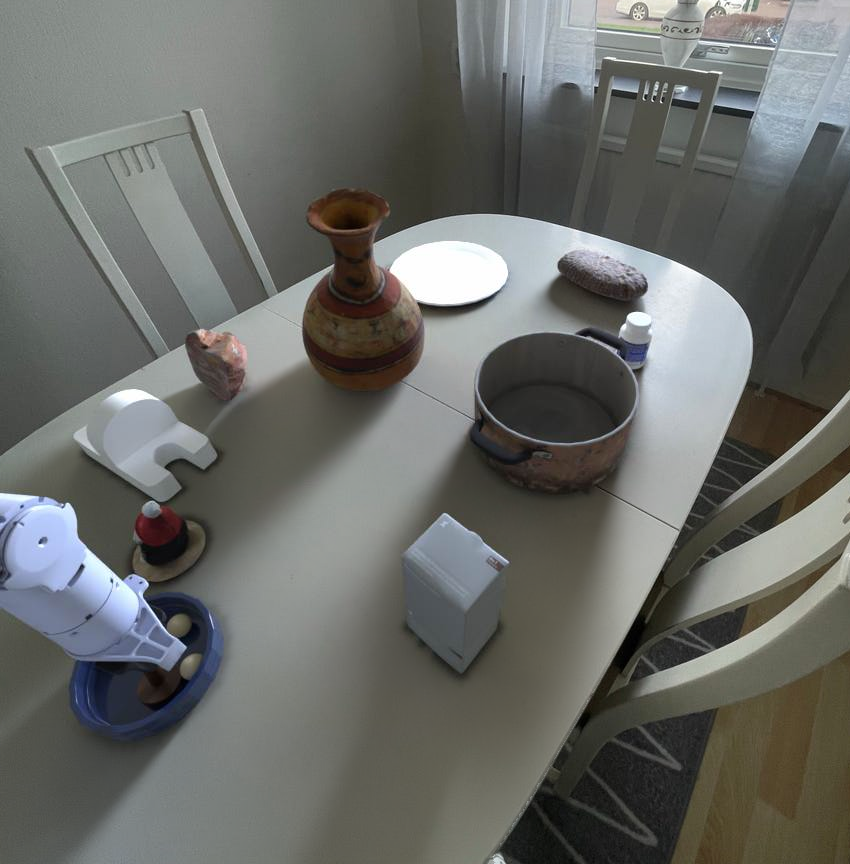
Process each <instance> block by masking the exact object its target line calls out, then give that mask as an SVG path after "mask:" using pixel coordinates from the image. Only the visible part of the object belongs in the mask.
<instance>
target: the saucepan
mask: <svg viewBox="0 0 850 864" xmlns="http://www.w3.org/2000/svg"><path fill="white" fill-rule="evenodd" d="M588 337H590V338H588ZM604 344H605V345H604ZM607 346H609V347H611V348H612V349H615V350H616V349H617V350H619V355H617V354H616V353H615V351H613V350H612V349H611V348H609V347H607ZM627 350H628V346H627V344H626V343H625V342H624V341H623V340H622V339H620V338H619V336H616V335H615V334H612V333H610V332H608V331H607V330H603V329H600V328H598V327H593V326H587V327H583V328H582V329H580V330H578V331H576V332H575V333H569V332H564V331H563V332H562V331H545V330H544V331H535V332H528V333H523V334H519V335H516V336H513V337H509V338H507V339H506V340H504V341H502V342H500V343H498V344H496V345H495V346H493V348H491V349H490V350H488V352H487V353H486V354H485V355H484V356H483V358H481V360H480V362H479V364H478V366H477V367H476V371H475V374H474V380H473V382H474V383H473V386H474V387H473V391H474V393H473V394H474V397H473V398H474V423H473V424H472V426H471V429H470V431H469V441H470V442H471V444H472V445H473V446H474V447H475V448H476V449H477V450H478V451H479V452H480V454H481V455H482V457H483V460H484V461H485V462H486V463H487V464H488V465H489V467H490V468H491V469H492V471H494V472H495V473H496V474H497V475H499V476H500V477H502V478H503V479H505V480H506V481H508V482H510V483H512V484H513V485H516V486H518V487H521V488H524V489H527V490H529V491H534V492H539V493H544V494H567V493H576V492H579V491H582V490H585V489H590V488H591V487H593V486H595V485H597V484H600V483H601V482H602V481H604V480H605V479H606V478H608V477H609V476H610V475H611V474H612V473H613V472H614V470H615V469H616V468H617V466H619V464H620V462H621V459H622V457H623V455H624V452H625V450H626V446H627V443H628V440H629V437H630V434H631V430H632V426H633V424H634V419H635V416H636V413H637V410H638V406H639V401H640V388H639V387H640V386H639V383H638V380H637V378H636V375H635V373H634V372H633V369H630V367H629V366H628V364H627V363H626V362H625V358H626V354H627Z"/></svg>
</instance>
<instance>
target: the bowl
mask: <svg viewBox="0 0 850 864" xmlns="http://www.w3.org/2000/svg"><path fill="white" fill-rule="evenodd" d="M143 598H144V600H145V601H146V603H147V604H148V605H149V604H150V605H152V606H155V607H157V608H159V609H161V610H162V611H163V612H164V613H165V615H166V617H167V619H166V621H165V624H164V628H165V630H166V631H167V624H168V622H169V620H170V619H171V618H172V617H173V616H175V615H177V614H186V615H188V616H189V617H190V618H191V620H192V627H191V629H190V631H189V632H188V633H187V634H186V635H185V636H183V637H180V638H177V639H178V640H179V641H180V642H181V643H182V644H184V645H185V646H186V649H185V651H184V652H183V653H182V655H181V657H180V658H179V659H178V661H177V662H176V663H175V664H177V665H178V666H179V667H180V666H181V663H182V662H183V660H184V659H185V658H186V657H187V656H189V655H191V654H201V655H203V658H202V660H201V663H200V665H199V668H198V670H197V671H196V672H195V674H194V675H193V677H192V678H191V680H187V679H184V682H183V685H182V688H181V690H180V691H179V693H178V694H177V695H176V696H175V697H174V698H173V699H172V700H171V701H170V702H168V703H166V704H165V705H162V706H160V707H154V708H150V707H146V706H144V705H143V704H142V703H141V701H140V700H139V698H138V696H137V686H138V683H139V681H140V679H141V678H142V676H143V675H144V673H143V672H141V671H136V670H131V671H128V672H126V673H124V674H122V675H113V674H109V673H107V672H105V671H104V670H102V669H100V668H98V667H96V666H94V664H95V663H96V662H97V661H81V660H77V659H76V661H75V663H74V664H73V668H72V672H71V676H70V680H69V683H68V694H69V707H70V710H71V711H72V712H73V714H74V716H75V717H76V720H77V721H78V722H79V724H81V725H82V726H85V727H86V728H88V729H90V730H91V731H93V732H96V733H97V734H99V735H102V736H104V737H106V738H108V739H110V740H114V741H129V742H132V741H133V742H135V741H137V740H141V739H144V738H147V737H151V736H155V735H158V734H159V733H161V732H163V731H164V730H166V729H167V728H169V727H171V726H173V725H174V724H175V723H177V722H179V721H181V719H183V718H184V717H185V716H186V715H187V714H188V713H189V712H190V711H191V710H192V709H193V708H194V707H195V706H196V705H197V704H198V703H200V701H201V700H202V698H203V696H204V695H205V694H206V692H207V690H208V689H209V688H210V686H211V685H212V683H213V682H214V679H215V677H216V675H217V672H218V670H219V668H220V664H221V662H222V659H223V649H224V635H223V631H222V629H221V625H220V622H219V620H218V619H217V618H216V617H215V616H214V614H213V613H212V612H211V611H210V609H208V608H207V607H206V605H205V604H204V603H203V602H202V601H201V600H200V599H199V598H197V597H195V596H192V595H190V594H188V593H186V592H181V591H179V592H176V591H175V592H174V591H162V592H159V593H155V594H151V595H146V596H143Z"/></svg>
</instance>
